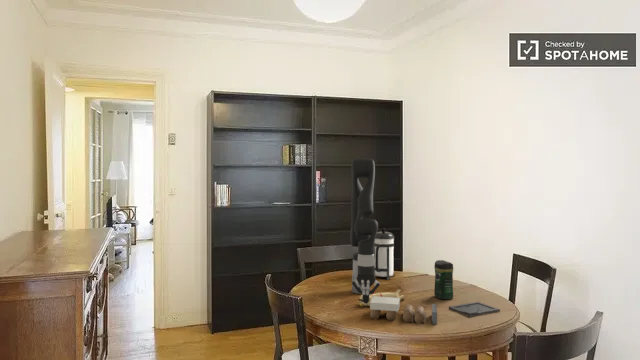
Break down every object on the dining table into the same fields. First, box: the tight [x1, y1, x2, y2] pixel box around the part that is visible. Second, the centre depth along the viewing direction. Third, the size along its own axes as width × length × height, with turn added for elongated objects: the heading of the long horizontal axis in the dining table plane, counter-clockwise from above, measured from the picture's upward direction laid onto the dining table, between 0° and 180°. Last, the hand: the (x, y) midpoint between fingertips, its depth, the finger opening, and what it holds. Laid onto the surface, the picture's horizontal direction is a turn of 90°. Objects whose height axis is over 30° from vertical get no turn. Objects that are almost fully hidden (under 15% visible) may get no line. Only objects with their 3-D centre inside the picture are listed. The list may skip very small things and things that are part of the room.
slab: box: [369, 296, 401, 312], centre depth 196 cm, size 12×10×3 cm
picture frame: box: [448, 301, 501, 318], centre depth 205 cm, size 13×2×18 cm
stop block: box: [431, 303, 438, 325], centre depth 191 cm, size 2×12×5 cm, turn 166°
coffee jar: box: [433, 259, 454, 300], centre depth 226 cm, size 10×8×19 cm
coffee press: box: [374, 227, 396, 281], centre depth 268 cm, size 17×16×30 cm
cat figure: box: [357, 284, 406, 307], centre depth 216 cm, size 10×9×25 cm
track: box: [369, 304, 427, 325], centre depth 195 cm, size 23×12×4 cm, turn 76°
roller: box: [413, 305, 425, 324], centre depth 193 cm, size 4×12×4 cm, turn 166°
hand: (366, 302), depth 198 cm, fingers closed
